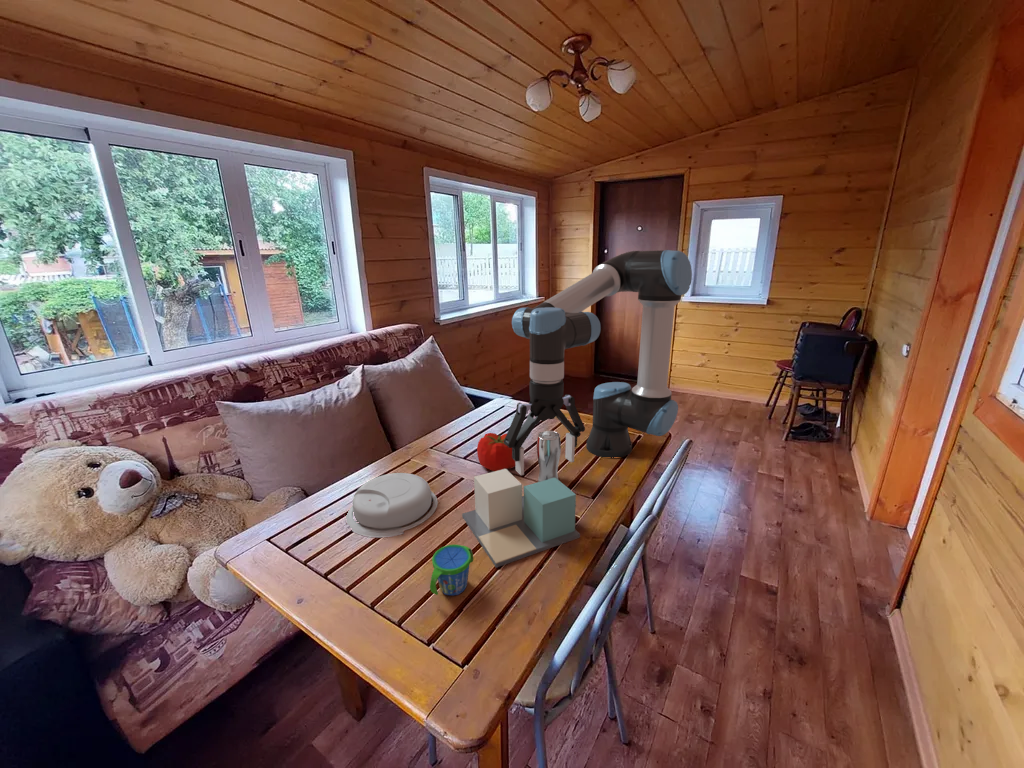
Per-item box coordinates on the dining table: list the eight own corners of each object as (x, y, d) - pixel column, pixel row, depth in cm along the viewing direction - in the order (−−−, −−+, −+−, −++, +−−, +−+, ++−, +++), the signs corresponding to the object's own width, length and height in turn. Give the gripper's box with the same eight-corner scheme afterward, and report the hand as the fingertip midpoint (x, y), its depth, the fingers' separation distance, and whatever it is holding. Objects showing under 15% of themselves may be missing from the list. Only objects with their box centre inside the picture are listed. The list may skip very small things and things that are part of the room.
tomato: (470, 472, 132) (469, 441, 129) (488, 454, 144) (487, 425, 141) (511, 480, 128) (510, 448, 124) (526, 461, 139) (526, 431, 136)
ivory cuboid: (506, 501, 115) (505, 468, 112) (522, 519, 107) (521, 484, 104) (475, 510, 111) (473, 476, 108) (489, 529, 103) (488, 493, 100)
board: (536, 495, 120) (536, 491, 119) (579, 537, 102) (580, 532, 101) (462, 516, 110) (462, 512, 110) (496, 567, 92) (495, 562, 92)
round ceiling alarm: (458, 508, 115) (457, 488, 113) (370, 552, 98) (367, 529, 97) (410, 475, 132) (409, 457, 130) (329, 507, 116) (326, 487, 114)
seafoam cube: (554, 511, 110) (555, 477, 107) (574, 531, 102) (575, 494, 99) (524, 521, 106) (523, 486, 103) (542, 542, 99) (542, 504, 96)
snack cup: (445, 614, 81) (442, 582, 78) (419, 594, 85) (416, 563, 83) (486, 579, 89) (485, 549, 87) (461, 563, 94) (459, 534, 91)
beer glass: (558, 488, 123) (559, 440, 118) (535, 486, 124) (535, 439, 120) (561, 476, 129) (562, 430, 125) (538, 474, 131) (538, 429, 126)
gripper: (583, 368, 102) (580, 449, 108) (487, 382, 92) (490, 470, 98) (602, 375, 96) (598, 461, 102) (502, 392, 85) (504, 485, 91)
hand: (545, 466), depth 100 cm, fingers open, 13 cm apart
